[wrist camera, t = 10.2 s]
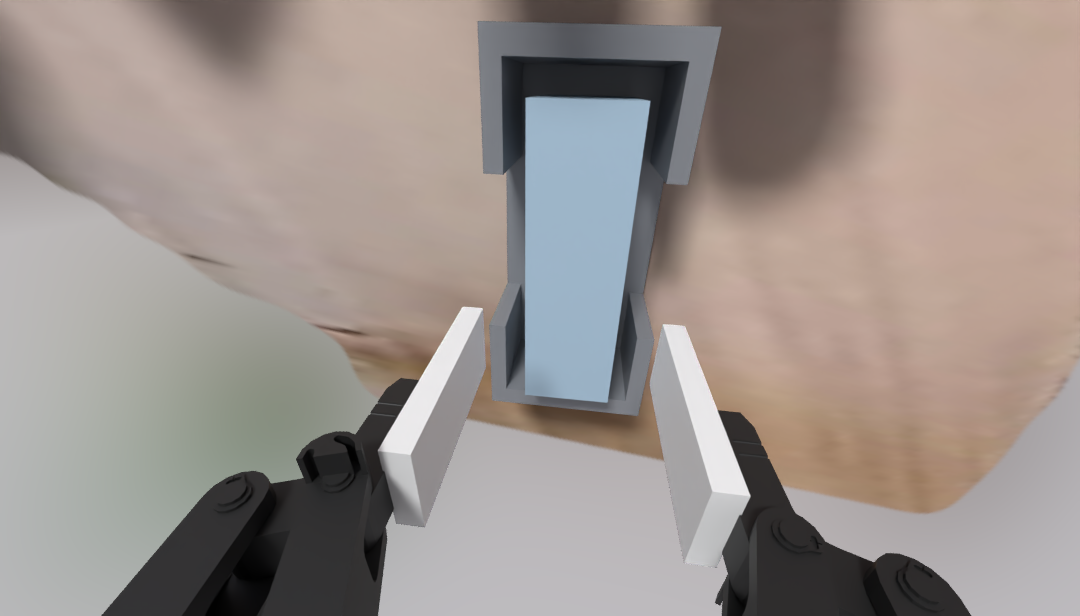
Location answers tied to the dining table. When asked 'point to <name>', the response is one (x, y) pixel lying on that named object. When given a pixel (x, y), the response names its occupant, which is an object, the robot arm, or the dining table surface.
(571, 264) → the light blue block
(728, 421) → the robot arm
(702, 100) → the endcap rail
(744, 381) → the dining table surface
